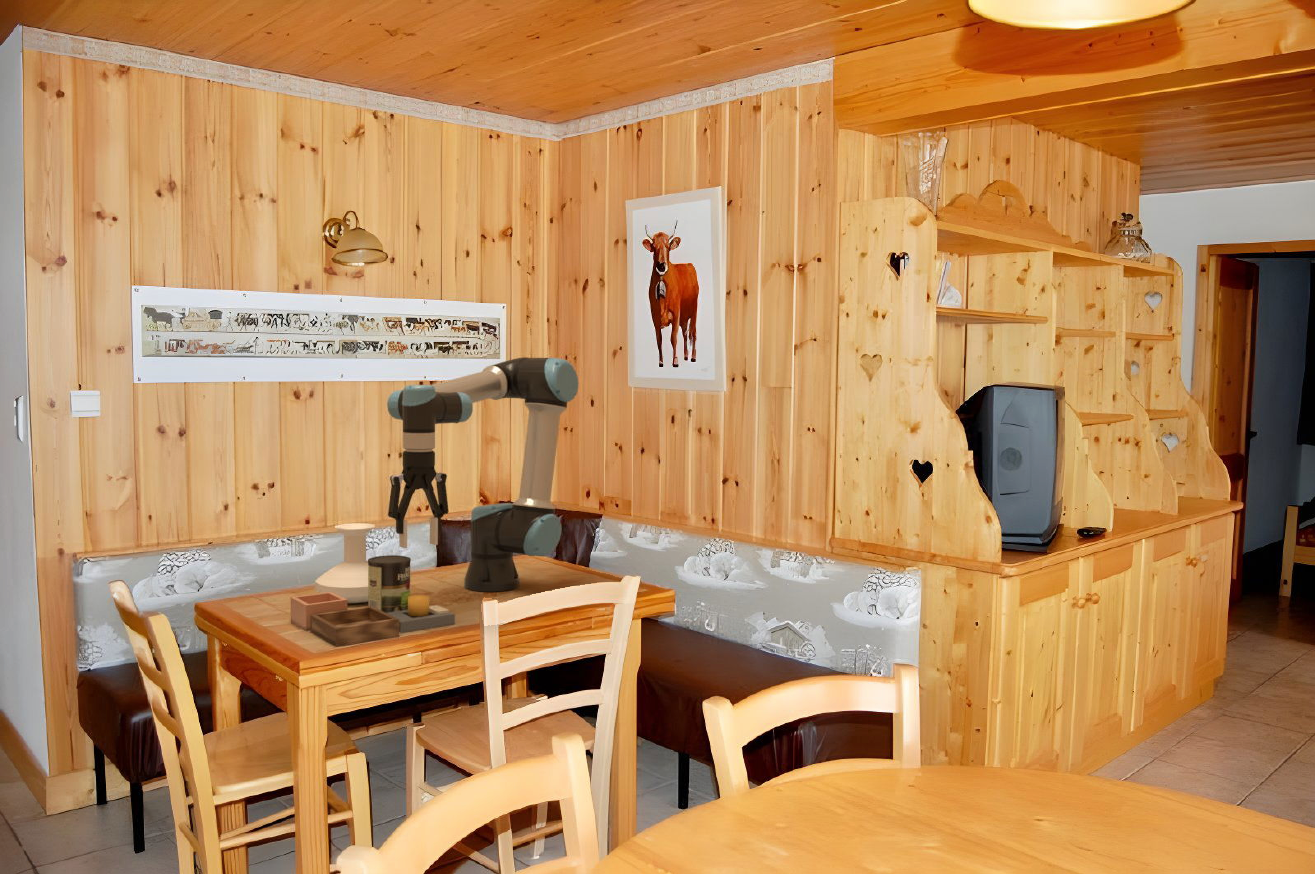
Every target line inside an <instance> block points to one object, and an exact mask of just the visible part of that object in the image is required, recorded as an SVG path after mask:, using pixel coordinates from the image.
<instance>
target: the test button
mask: <svg viewBox="0 0 1315 874" xmlns="http://www.w3.org/2000/svg"><path fill="white" fill-rule="evenodd" d="M429 606H430V596H429V595H427V594H426V595H425V594H414V595H413V594H412V595H410V596H409V597H408V615H410V616H425V615H428V614H429Z"/></svg>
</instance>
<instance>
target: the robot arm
mask: <svg viewBox="0 0 1315 874" xmlns="http://www.w3.org/2000/svg"><path fill="white" fill-rule="evenodd" d="M578 378H579V377H578V374H577V372H576V369H575V368H574V366H573V364H572V363H571V362H569V361H568V360H566V359H564V358H557V357H525V356H524V357H517V358H513V359H512V358H511V359H509V360H505V361H502V362H499V363H495V364H491V365H489V366H486V367H484V368H483V370H482V371H480V372H475V373H472V374H468V375H465V376H460V377H457V378H453V379H449V380H445V381H441V382H438V383H434V384H433V383H432V384H429V385H428V384H408V385H405V386H404V387H403V389H401V390H399V389H398V390H395V391H393V392H392V393H390V395H389V396H388V398H387V403H386V406H387V411H388V414H389V415H390V417H392V418H393V419H396V420H401V421H402V448H403V449H404V450H403V451H402V470H401V472H400V474H398V475H391V476H390V477H389V480H390V484H391V486H390V495H389V504H388V511H387V512H388V513H387V516H388V518H391V519H394V520H395V532H396V534H398V539H399V542H398V543H399V545H398V546H399V547H400V548H403V549H407V548H408V520H406V519H405V518H406V514H407V512H408V509H409V506H410V503H411V500H412V498H413V495H414V494H415V492H416V491H417V490H421V489H422V491H423V492H424V494H425V498H426V500H427V502H428V505H429V508H430V511H431V513H432V515H433V516H432V515H431V516H429V544H430V545H431V544H432V545H433V546H437V545H439V543H438V542H439V541H438V539H439V531H441V528H442V518H443V517H444V515H447V514H449V503H448V494H447V485H446V483H447V477H448V475H447V474H446V473H442V472H437V471H436V469H435V466H436V452H435V450H434V449H435V448H436V425H438V424H459V423H464V422H467V421H468V420H469V419H470V418H471V416H472V414H473V405H474V403H478V402H479V403H480V402H481V401H485V400H488V399H491V400H494V401H499V400H502V399H520V400H521V399H522V400H524V405H525V407H526V408H527V409H528V418H527V427H526V435H525V442H524V443H525V445H524V450H523V452H524V454H523V460H522V468H521V469H522V470H521V478H520V487H519V495H518V498H517V499H516V500H515V501H514V502H512V503H511V502H505V503H504V502H503V503H492V504H483V505H478V506H475V507H473V509H472V511H471V516H470V517H471V518H470V561H469V564H468V566H467V570H466V573H465V576H464V588H465V589H466V590H470V591H475V592H492V593H493V592H504V591H511V590H515V589H517V588H518V587H519V586H520V577H519V574H518V571H517V567H516V565H515V564H516V563H515V562H514V554H519V555H520V554H521V555H526V556H529V557H544V556H548V555H549V554H551V553H552V552H553V551H554V550H555V549H556V548H557V546H558V544H559V542H560V540H561V536H562V532H563V531H562V523H561V520H560V518H559V517H558V516H557V515H555V512H556V507H555V506H554V505H553V503H552V501H551V497H552V491H553V483H554V482H553V480H554V472H555V462H556V455H557V447H558V438H559V430H560V422H561V421H560V420H561V415H562V414H563V413H564V412H565V411H567V408H568V403H569V402H571V401H573V400H574V399H575V398H576V397H575V396H577V394H578V389H579V379H578ZM434 479H435V481H436V484H435V485H436V492H437V496H436V494H435V491H434V486H433V483H432V482H433V481H434ZM403 481H404V483H405V484H404V487H403V493H402V495H401V488H402V487H401V484H403ZM400 495H401V499H400Z"/></svg>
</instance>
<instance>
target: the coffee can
mask: <svg viewBox="0 0 1315 874" xmlns="http://www.w3.org/2000/svg"><path fill="white" fill-rule="evenodd" d="M411 560H412V559H411V557H410V556H406V555H394V554H391V555H388V554H387V555H379V556H373V557H369V558H368V559H367V561H368V602H367V604H368V606H367V607H369V606H373V607H375V608H377V609H379V610H381V611H383V612H385V613H389V612H396V611H403V610H408V597H409V596H411Z"/></svg>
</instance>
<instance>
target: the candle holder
mask: <svg viewBox="0 0 1315 874" xmlns="http://www.w3.org/2000/svg"><path fill="white" fill-rule="evenodd" d="M375 527H376V525H375V524H373V523H367V522H366V523H363V522H361V523H359V522H357V523H355V522H354V523H352V522H351V523H344V524H343V523H342V524H336V525H334V528H335V529H336V530H337V531H338V532H340V533H341V534H342V535H343V561H342V562H340V563H339V564H337V565H335V566H333V567H332V568H330V569H329V570H327V571H325V572H324V573H323V574H322V575H320V576H319V577H318V578H317V579H316V580H315V581H314V591H316V592H317V594H318V593H326V592H333V593H335V594H337V595H339V596H341V597H343V598H345V599H347V604H361V603H364V604H365V603H368V560H367V534H368V533H369V532H370V531H372V530H373V529H374V528H375Z"/></svg>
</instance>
